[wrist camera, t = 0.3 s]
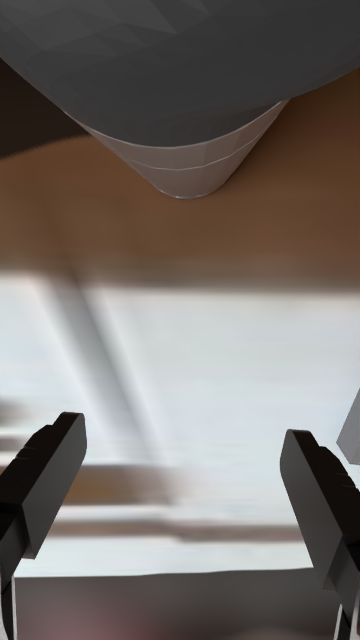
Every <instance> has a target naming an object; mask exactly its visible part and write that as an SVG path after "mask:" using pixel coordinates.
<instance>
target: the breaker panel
mask: <svg viewBox="0 0 360 640" xmlns="http://www.w3.org/2000/svg"><path fill="white" fill-rule="evenodd" d="M336 443H337V445H338V446H339V448H340V449H341V451H342V453H343V454H344V456H345V457H346V459H347V461H348V462H349V464H354V465H360V389H359V391H358V393H357V396H356V398H355V400H354V403H353V405H352V407H351V410H350V412H349V414H348V417H347V419H346V421H345V424H344V426H343V428H342V430H341V433H340V435H339V437H338V440H337V442H336Z"/></svg>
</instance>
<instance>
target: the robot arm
mask: <svg viewBox="0 0 360 640" xmlns="http://www.w3.org/2000/svg"><path fill="white" fill-rule="evenodd" d="M0 57H1V58H2V59H3V60H4V61H5V62H6V63H7V64H9V66H11V67H12V68H13V69H14V70H15V71H16V72H17V73H18V74H20V75H21V76H22V77H23V78H24V79H25V80H26V81H28V82H29V83H30V84H31V85H32V86H34V87H35V88H36V89H38V90H39V91H40V92H41V93H42V94H43V95H45V96H46V97H47V98H48V99H49V100H51V101H52V102H53V103H54V104H55V105H57V106H58V107H59V108H61V109H62V110H63V111H64V112H65V113H66V114H67V115H69V116H70V117H71V118H72V119H73V120H75V121H76V122H77V123H78V124H80V125H81V126H82V127H83V128H84V129H85V130H87V131H88V132H89V133H90V134H92V135H93V136H94V137H95V138H96V139H98V140H99V141H100V142H101V143H102V144H104V145H105V146H106V147H108V148H109V149H110V150H111V151H112V152H114V153H115V154H116V155H117V156H118V157H120V158H121V159H122V160H123V161H125V162H126V163H127V164H128V165H129V166H131V167H132V168H133V169H134V170H135V171H137V172H138V173H139V174H140V175H141V176H143V177H144V178H145V179H146V180H147V181H149V182H150V183H151V184H152V185H154V186H155V187H156V189H158V190H159V191H161V192H163V193H165V194H167V195H169V196H171V197H175V198H179V199H196V198H200V197H204V196H206V195H208V194H210V193H212V192H214V191H216V190H217V189H218V188H219V187H220V186H222V185H223V184H224V183H225V182H226V181H227V179H228V178H229V177H230V176H231V175H232V173H233V172H234V171H235V170H236V169H237V167H238V166H239V165H240V164H241V162H242V161H243V160H244V158H245V157H246V156H247V155H248V153H249V152H250V151H251V149H252V148H253V147H254V146H255V144H256V143H257V142H258V140H259V139H260V138H261V137H262V135H263V134H264V133H265V131H266V130H267V129H268V128H269V126H270V125H271V124H272V122H273V121H274V120H275V119H276V117H277V116H278V114H279V113H280V112H281V110H282V109H283V108H284V106H285V105H286V104H287V103H288V101H289V100H290V99H291V98H293V97H296V96H299V95H302V94H305V93H308V92H310V91H312V90H315V89H317V88H320V87H322V86H324V85H327V84H329V83H331V82H333V81H335V80H337V79H338V78H340V77H342V76H344V75H346V74H348V73H350V72H352V71H354V70H356V69H357V68H359V67H360V0H0ZM86 449H87V438H86V428H85V418H84V414H83V413H74V412H62V413H61V414H60V415H59V417H58V418H57V420H56V421H55V422H54V424H53V425H45V426H44V427H43V428H41V429H40V430H39V431H37V432H36V433H34V434H33V435H32V437H31V438H30V439H29V440H28V442H27V443H26V444H25V445H24V448H23V449H21V450H20V452H19V453H18V454H17V455H16V458H15V459H13V460H12V461H11V463H10V464H9V465H8V466H7V468H6V469H5V470H4V471H3V473H2V474H1V475H0V640H17V628H16V606H15V585H14V572H15V570H16V568H17V566H18V564H19V562H20V560H21V558H25V559H35V558H36V556H37V554H38V552H39V550H40V548H41V546H42V544H43V542H44V540H45V537H46V535H47V533H48V531H49V529H50V527H51V525H52V523H53V521H54V519H55V517H56V515H57V513H58V511H59V509H60V507H61V505H62V503H63V501H64V499H65V497H66V495H67V493H68V491H69V489H70V486H71V484H72V482H73V480H74V478H75V476H76V474H77V472H78V470H79V468H80V466H81V464H82V462H83V460H84V457H85V454H86ZM280 472H281V476H282V479H283V482H284V485H285V488H286V491H287V493H288V496H289V499H290V502H291V505H292V507H293V510H294V513H295V516H296V519H297V521H298V524H299V527H300V530H301V533H302V535H303V538H304V541H305V544H306V547H307V550H308V552H309V555H310V558H311V561H312V564H313V566H314V569H315V572H316V575H317V578H318V580H319V583H320V586H321V589H327V590H336V592H337V594H338V597H339V599H340V602H341V606H340V609H339V614H338V619H337V625H336V631H335V636H334V640H360V492H359V490H358V488H356V487H355V484H354V482H353V481H352V479H351V477H350V476H348V473H347V471H346V470H345V468H344V466H343V465H342V463H341V462H340V460H339V459H338V458H337V457H336V456H335V455H334V454H333V453H332V452H331V451H330V450H329V449H327V448H326V447H323V446H319V445H318V443H317V442H316V440H315V438H314V436H313V435H312V433H311V432H310V431H307V430H293V429H288V430H287V432H286V435H285V439H284V444H283V448H282V453H281V457H280Z"/></svg>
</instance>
